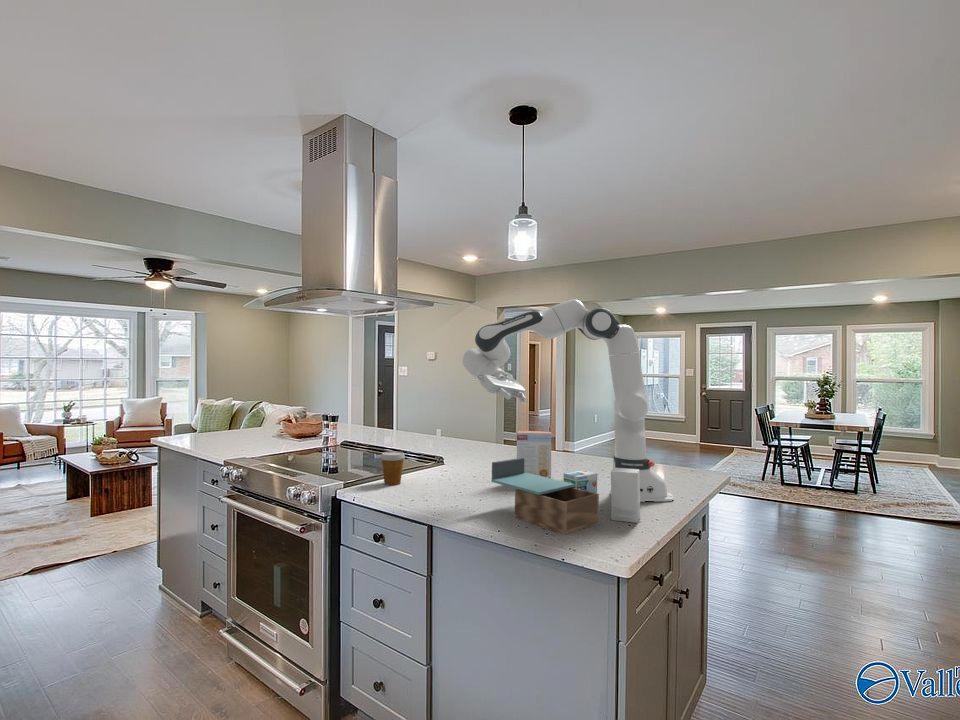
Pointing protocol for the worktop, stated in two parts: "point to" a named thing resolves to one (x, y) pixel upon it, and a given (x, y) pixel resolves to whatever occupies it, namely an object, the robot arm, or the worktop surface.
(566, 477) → the light bulb box
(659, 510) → the worktop surface
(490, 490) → the worktop surface
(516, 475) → the lid
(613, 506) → the skincare box
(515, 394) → the robot arm
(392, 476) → the disposable coffee cup
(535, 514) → the crate
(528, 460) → the cracker box
